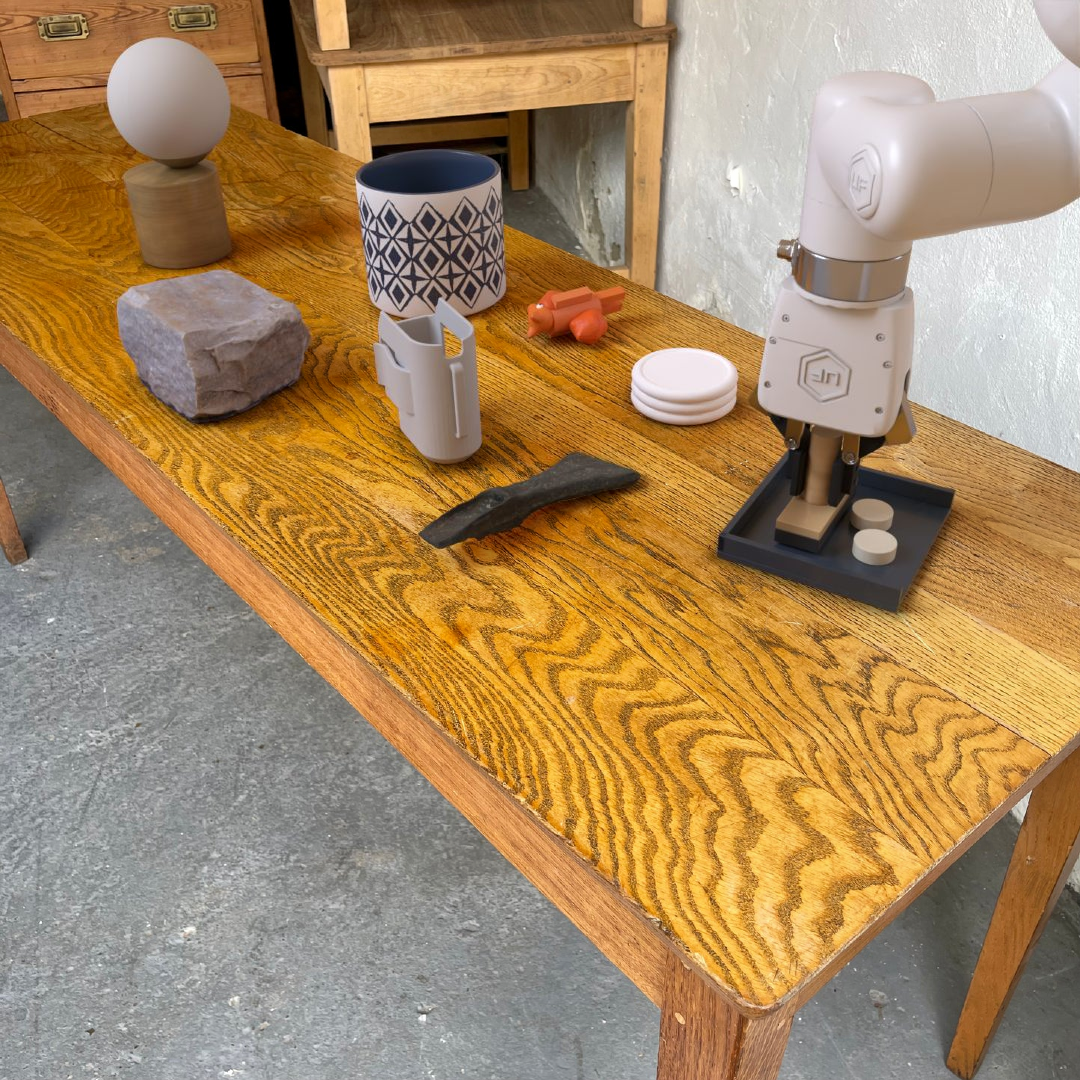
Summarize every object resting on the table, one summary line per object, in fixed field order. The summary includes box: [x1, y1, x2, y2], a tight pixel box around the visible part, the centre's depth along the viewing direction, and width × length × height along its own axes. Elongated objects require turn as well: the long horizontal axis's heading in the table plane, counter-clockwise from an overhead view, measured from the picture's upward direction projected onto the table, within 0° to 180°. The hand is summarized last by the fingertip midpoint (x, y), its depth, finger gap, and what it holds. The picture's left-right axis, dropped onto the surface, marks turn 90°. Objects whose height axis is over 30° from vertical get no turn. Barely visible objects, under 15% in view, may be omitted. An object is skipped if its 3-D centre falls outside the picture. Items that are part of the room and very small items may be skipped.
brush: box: [774, 425, 858, 553], centre depth 86 cm, size 4×9×8 cm, turn 149°
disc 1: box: [850, 499, 894, 531], centre depth 87 cm, size 3×3×1 cm
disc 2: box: [852, 529, 897, 565], centre depth 84 cm, size 3×3×1 cm
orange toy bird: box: [526, 285, 627, 345], centre depth 117 cm, size 5×8×12 cm
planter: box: [354, 148, 507, 320], centre depth 124 cm, size 16×16×14 cm
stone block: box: [116, 269, 312, 425], centre depth 110 cm, size 17×12×15 cm
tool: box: [417, 451, 642, 550], centre depth 90 cm, size 21×8×3 cm, turn 135°
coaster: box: [630, 347, 739, 426], centre depth 105 cm, size 10×10×4 cm
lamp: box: [106, 36, 233, 270], centre depth 136 cm, size 15×14×25 cm
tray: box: [716, 448, 956, 614], centre depth 87 cm, size 14×15×2 cm
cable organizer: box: [372, 298, 483, 465], centre depth 97 cm, size 7×12×12 cm, turn 27°
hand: (819, 491), depth 86 cm, fingers closed on brush, 2 cm apart
